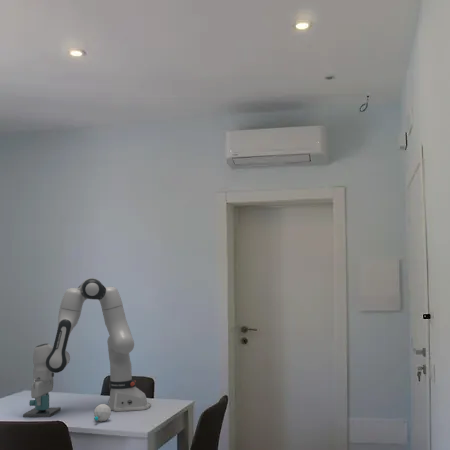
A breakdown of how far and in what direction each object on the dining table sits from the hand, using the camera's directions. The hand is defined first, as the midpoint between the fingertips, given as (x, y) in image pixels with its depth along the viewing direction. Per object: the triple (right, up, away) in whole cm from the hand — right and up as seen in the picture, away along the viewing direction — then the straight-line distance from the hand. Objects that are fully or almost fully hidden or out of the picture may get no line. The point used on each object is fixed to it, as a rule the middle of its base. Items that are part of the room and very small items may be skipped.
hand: (42, 403), depth 301 cm
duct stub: (0, -5, 0) cm, 5 cm away
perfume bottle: (+34, -3, -21) cm, 41 cm away
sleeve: (-2, -3, 0) cm, 3 cm away
